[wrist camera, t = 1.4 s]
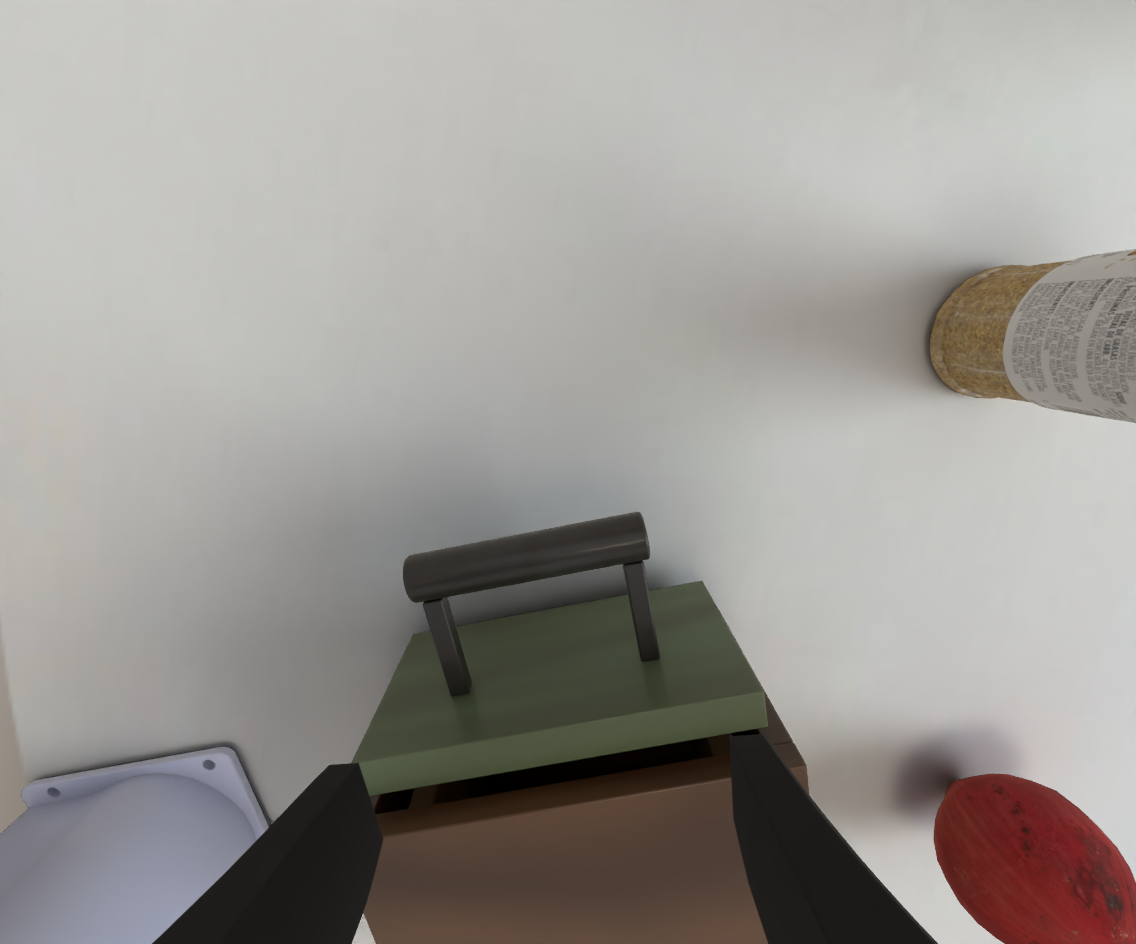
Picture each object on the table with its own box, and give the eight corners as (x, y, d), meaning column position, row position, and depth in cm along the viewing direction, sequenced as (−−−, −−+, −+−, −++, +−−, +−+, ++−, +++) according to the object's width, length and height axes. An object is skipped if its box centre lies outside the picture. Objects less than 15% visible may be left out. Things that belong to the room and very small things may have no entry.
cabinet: (415, 659, 22) (334, 845, 14) (716, 604, 21) (807, 764, 13) (496, 913, 26) (469, 1171, 18) (753, 871, 25) (839, 1117, 17)
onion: (928, 717, 23) (1115, 916, 15) (1044, 746, 23) (1283, 952, 16) (872, 819, 24) (1017, 1046, 17) (983, 843, 25) (1173, 1076, 17)
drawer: (377, 523, 19) (292, 613, 13) (685, 463, 19) (745, 528, 13) (493, 888, 24) (470, 1078, 18) (740, 847, 24) (803, 1028, 17)
